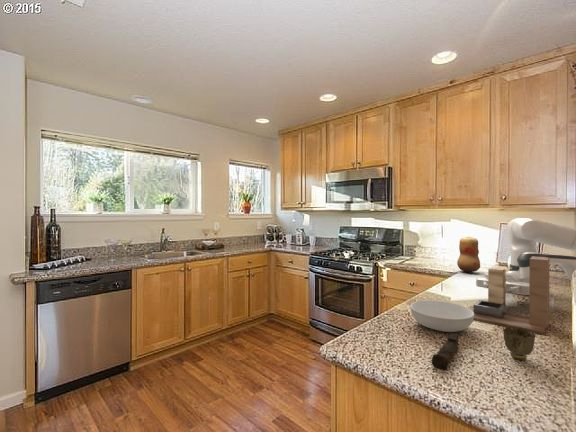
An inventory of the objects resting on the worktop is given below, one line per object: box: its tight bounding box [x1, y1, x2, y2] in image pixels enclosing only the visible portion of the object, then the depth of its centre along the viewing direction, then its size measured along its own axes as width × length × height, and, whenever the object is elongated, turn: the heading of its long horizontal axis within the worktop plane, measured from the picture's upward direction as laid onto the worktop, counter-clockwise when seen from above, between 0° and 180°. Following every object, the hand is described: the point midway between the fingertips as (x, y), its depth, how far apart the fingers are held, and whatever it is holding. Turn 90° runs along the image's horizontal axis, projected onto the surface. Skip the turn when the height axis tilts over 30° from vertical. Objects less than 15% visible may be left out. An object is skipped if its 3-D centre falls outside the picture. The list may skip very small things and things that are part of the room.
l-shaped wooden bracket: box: [468, 256, 550, 336], centre depth 117 cm, size 16×26×25 cm, turn 46°
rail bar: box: [487, 266, 507, 305], centre depth 129 cm, size 5×5×18 cm
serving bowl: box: [409, 299, 474, 333], centre depth 111 cm, size 21×21×7 cm
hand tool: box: [431, 333, 459, 371], centre depth 87 cm, size 19×4×5 cm, turn 136°
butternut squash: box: [456, 236, 481, 274], centre depth 212 cm, size 14×13×25 cm
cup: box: [502, 326, 537, 361], centre depth 87 cm, size 8×7×8 cm
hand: (498, 288), depth 129 cm, fingers open, 8 cm apart
